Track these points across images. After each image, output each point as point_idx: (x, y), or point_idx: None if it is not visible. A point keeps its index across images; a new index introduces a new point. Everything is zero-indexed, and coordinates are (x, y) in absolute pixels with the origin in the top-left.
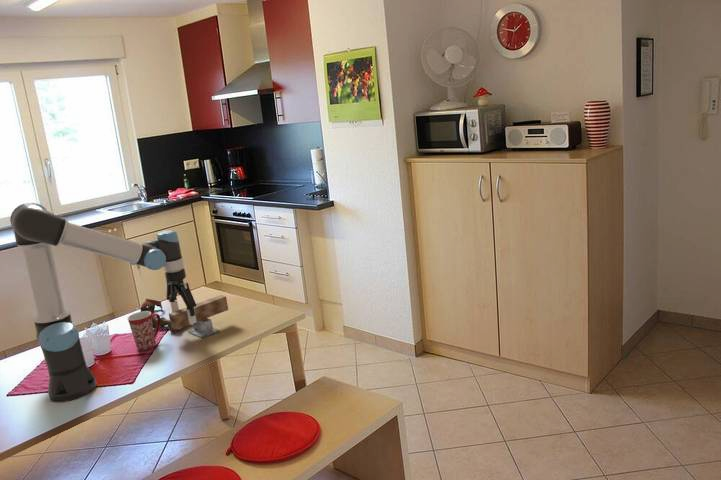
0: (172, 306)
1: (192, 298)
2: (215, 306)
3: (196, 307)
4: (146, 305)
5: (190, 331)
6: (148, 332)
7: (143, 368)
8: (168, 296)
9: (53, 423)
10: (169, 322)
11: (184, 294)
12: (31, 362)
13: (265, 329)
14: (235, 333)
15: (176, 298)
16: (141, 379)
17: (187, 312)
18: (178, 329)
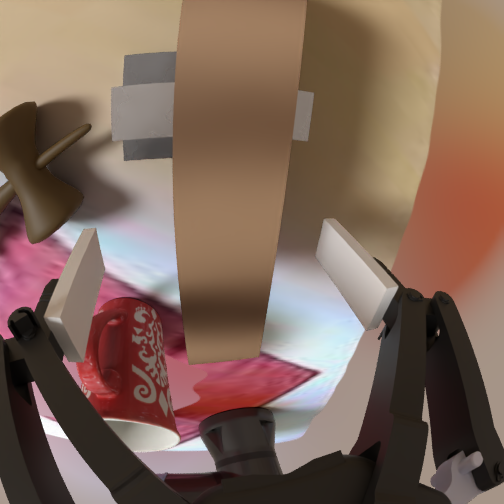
0: (86, 329)
1: (464, 348)
2: None
3: (285, 181)
4: None
5: (144, 154)
6: (165, 370)
7: (281, 356)
8: (33, 402)
9: (303, 424)
10: (39, 241)
11: (436, 424)
12: (48, 424)
13: (436, 12)
14: (375, 57)
15: (22, 320)
16: (324, 362)
17: (356, 309)
18: (83, 197)
